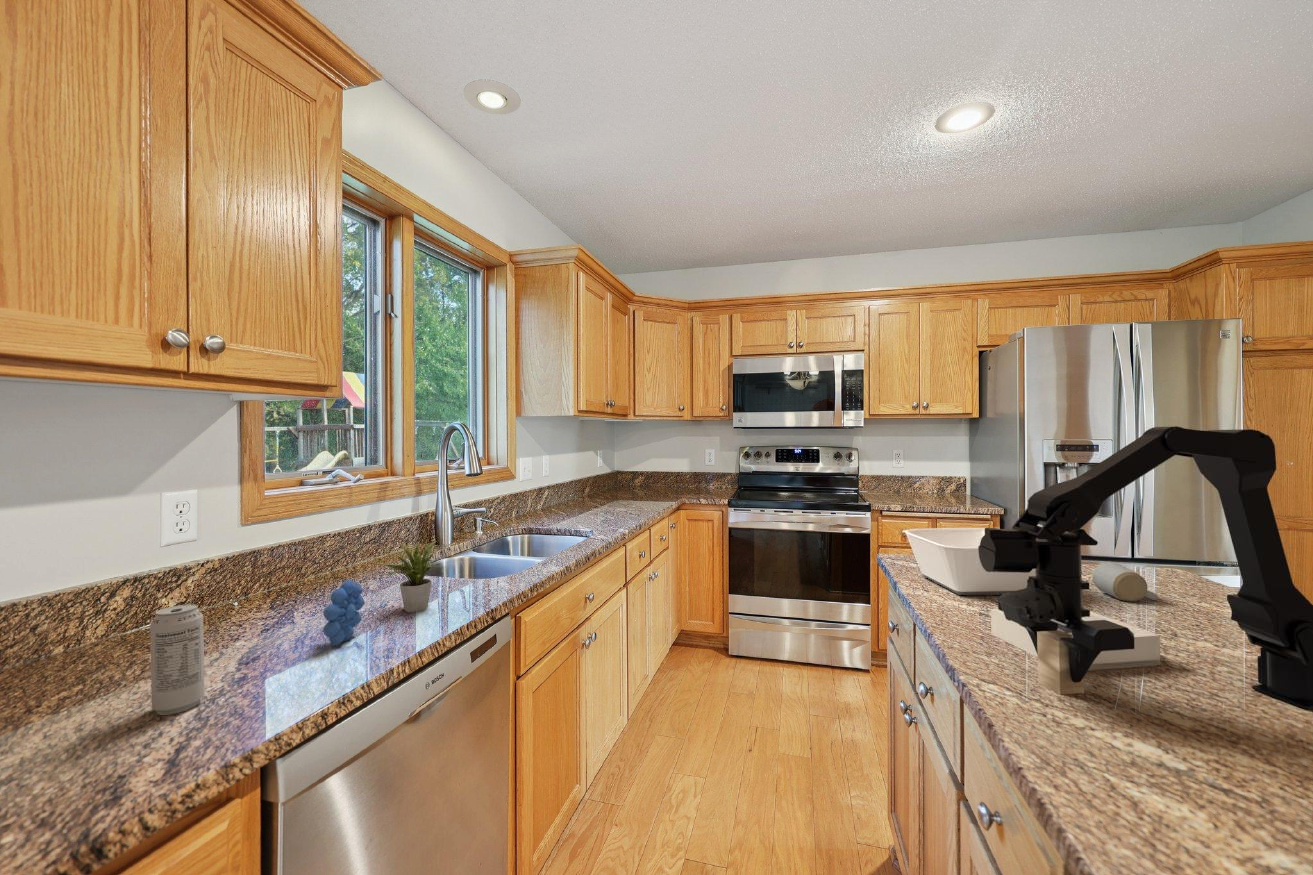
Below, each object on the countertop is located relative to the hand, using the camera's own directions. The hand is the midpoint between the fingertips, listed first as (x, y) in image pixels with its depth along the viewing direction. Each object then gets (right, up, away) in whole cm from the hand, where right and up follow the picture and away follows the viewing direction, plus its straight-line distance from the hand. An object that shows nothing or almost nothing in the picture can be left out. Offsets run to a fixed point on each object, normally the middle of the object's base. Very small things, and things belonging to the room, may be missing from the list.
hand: (1060, 674), depth 82 cm
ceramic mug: (+48, -2, +43) cm, 65 cm away
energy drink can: (-136, -5, 0) cm, 136 cm away
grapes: (-126, -5, +26) cm, 129 cm away
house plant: (-121, -5, +47) cm, 130 cm away
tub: (+20, -2, +55) cm, 59 cm away
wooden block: (0, -2, 0) cm, 2 cm away
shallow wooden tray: (+13, -2, +14) cm, 19 cm away
